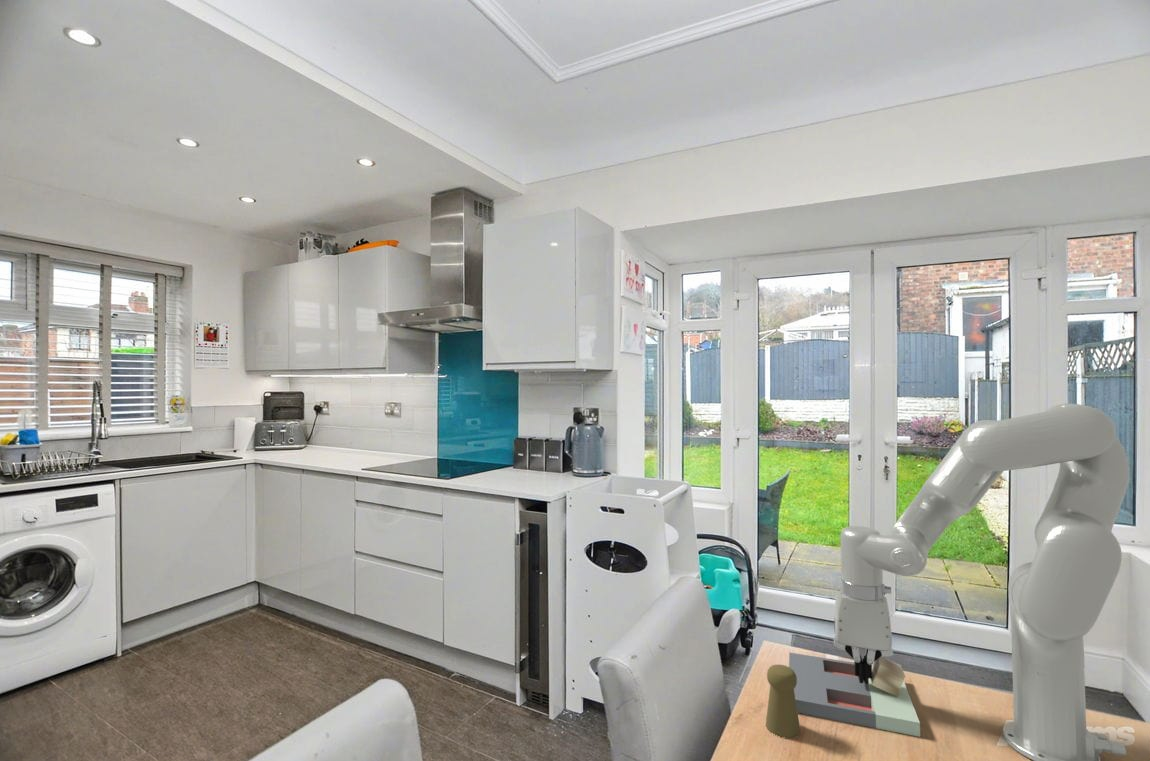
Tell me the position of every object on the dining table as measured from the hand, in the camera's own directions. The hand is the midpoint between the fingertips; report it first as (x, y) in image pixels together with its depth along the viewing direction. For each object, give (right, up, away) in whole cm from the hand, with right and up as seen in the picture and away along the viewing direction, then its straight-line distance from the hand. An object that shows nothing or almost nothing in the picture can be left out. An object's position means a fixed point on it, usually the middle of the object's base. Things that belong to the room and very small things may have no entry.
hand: (863, 680), depth 110 cm
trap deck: (-3, -4, +1) cm, 5 cm away
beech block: (+3, 0, -1) cm, 4 cm away
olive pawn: (-20, -4, -9) cm, 22 cm away
